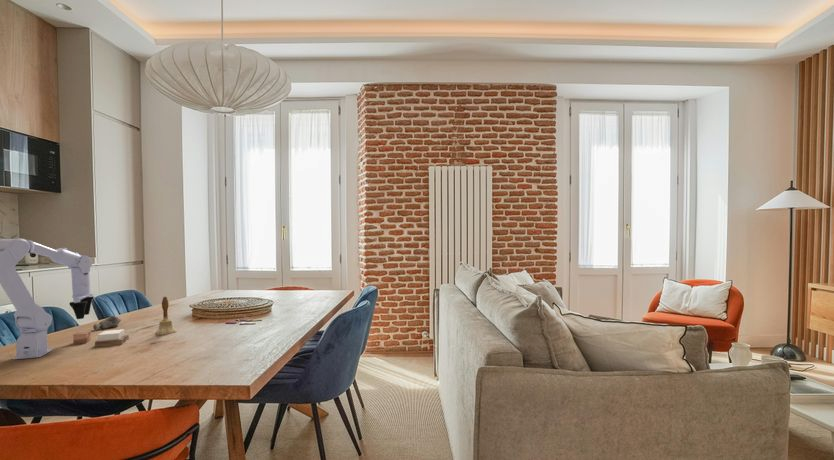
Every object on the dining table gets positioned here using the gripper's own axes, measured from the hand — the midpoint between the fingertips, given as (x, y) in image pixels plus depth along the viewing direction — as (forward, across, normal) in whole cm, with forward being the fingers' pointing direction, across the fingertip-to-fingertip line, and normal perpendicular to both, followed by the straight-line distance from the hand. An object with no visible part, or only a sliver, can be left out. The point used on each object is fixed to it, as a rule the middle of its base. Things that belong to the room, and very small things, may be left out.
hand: (83, 316), depth 173 cm
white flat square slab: (+8, -8, -11) cm, 16 cm away
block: (+10, -2, 0) cm, 11 cm away
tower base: (+11, -8, -11) cm, 18 cm away
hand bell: (+11, +1, -29) cm, 31 cm away
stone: (+12, +24, -3) cm, 27 cm away
